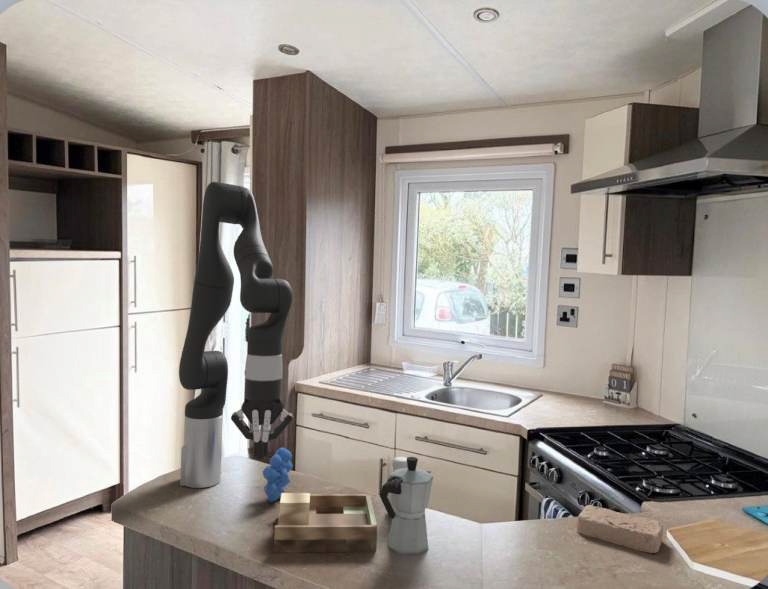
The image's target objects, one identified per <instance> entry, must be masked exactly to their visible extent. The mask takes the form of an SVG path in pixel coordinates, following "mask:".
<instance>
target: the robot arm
mask: <svg viewBox="0 0 768 589" xmlns="http://www.w3.org/2000/svg"><path fill="white" fill-rule="evenodd" d="M201 215H202V216H201V229H200V242H199V243H200V244H199V251H198V257H197V263H196V270H195V275H194V282H193V290H192V297H191V306H190V313H189V320H188V324H187V325H188V326H187V330H186V335H185V339H184V341H183V342H184V343H183V346H182V351H181V356H180V360H179V366H178V379H179V382H180V385H181V386H182V388H183V389H185V390H188V391H190V390H191V391H193V390H202V389H203V390H202V391H201V393H200V394H199V395H197V396H196V397H195V398H193V399H191V400H190V401H188V402H187V403H186V404H185V406H184V427H183V428H184V429H183V432H184V433H183V445H182V447H181V448H180V449H181V450H180V452H181V453H180V476H179V477H180V479H179V480H180V482H179V484H180V485H179V486H181V487H182V486H183V487H188V488H193V489H204V488H209V487H213V486H215V485H218V484H219V483H220V482H221V474H222V449H223V448H222V447H223V446H222V445H223V426H224V424H223V421H224V419H223V418H224V408H225V405H226V401H227V389H228V388H227V387H228V379H229V378H228V377H229V365H228V361H227V360H228V359H227V358H226V355H225V354H224V353H223V352H222V351H220V350H209V351H208V350H206V351H205V348H206V344H207V342H208V339H209V336H210V335H211V333H212V331H213V330H214V329H215V327H216V326H217V325H218V324H219V323H220V321H221V320H222V319H223V317H224V316H225V315H226V313H227V312H228V310H229V308H230V306H231V303H232V298H233V292H234V287H235V286H234V285H235V276H234V273H233V270H232V268H231V265H230V263H229V261H228V259H227V257H226V255H225V253H224V251H223V248H222V245H221V241H220V233H219V230H220V229H219V227H220V223H224V224H229V225H230V224H231V225H239V226H240V227H241V229H242V231H241V232H240V233H239V235H238V236H237V238H236V240H235V242H234V245H233V257H234V261H235V263H236V266H237V269H238V272H239V276H240V289H239V290H240V292H239V302H240V304H241V306H242V307H243V309H244V310H245V311H247V312H249V313H252V314H264V313H265V314H270V315H269V316H268V318H267V320H266V321H264V322H261V323H257V324H253V325H251V326H250V327H249V328H248V332H247V344H246V347H247V348H246V360H245V364H244V365H245V367H244V398H243V403H242V404H241V407H240V409H239V410H237V411H234V412H232V414H231V416H230V420H231V421H232V422H233V424H234V425H235V427H236V428H237V429H238V430H239V432H240V433H241V435H242V436H243V437H244V438H245V439H246V440H251V441H253V456H254V458H256V461H265V458H267V457H268V455H269V447H270V446H269V445H270V443H269V442H270V441H273V440H276V439H277V438H278V437H279V436H280V435H281V434H282V432H283V431H284V430H285V429H286V428H287V426H289V424H290V423H291V422H292V421H293V417H294V414H293V413H292V412H288V411H287V410H286V409H285V408H284V404H283V401H282V397H283V396H282V393H283V392H282V391H283V374H284V373H283V368H284V367H283V365H284V363H283V335H284V330H285V327H286V324H287V319H288V317H289V313H290V310H291V307H292V305H293V300H294V299H293V298H294V293H293V292H294V291H293V288H292V286H291V284H290V283H289V282H288V281H287V280H285V279H281V278H272V277H273V276H272V275H273V273H274V267H273V263H272V261H271V259H270V255H269V254H268V251H267V249H266V247H265V246H266V245H265V243H264V240H263V237H262V232H261V225H260V219H259V215H258V210H257V204H256V201H255V197H254V195H253V192H252V191H251V190H250V189H249V187H248V188H247V187H245V186H240V185H236V184H230V183H224V182H219V181H211V182H210V183H208V184H207V186H206V189H205V191H204V197H203V202H202V214H201ZM280 415H281V416H280ZM279 416H280V422H279V423H278V424H277V426H276V427H275V428H274V430H273V431H270V430H271V425H272V424H274V423H275V421H276V420H277V419H278V417H279ZM245 417H246V419H247V420H248V421H249V423H250V424H252V429H251V428H250V427H249V425H247V423H246V421H245V420H244V419H245ZM262 425H263V426H262ZM262 427H263V430H262V429H261V428H262ZM261 430H262V431H261Z"/></svg>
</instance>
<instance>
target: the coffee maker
mask: <svg viewBox="0 0 768 589" xmlns="http://www.w3.org/2000/svg"><path fill="white" fill-rule="evenodd" d="M406 458H407V466H408V468H403V469H396V470H395V471H394V470H393V471H392V472H390V474H389V477H388V478H387V480H386V482H385V483H384V484H383V485H382V487H381V490H380V492H379V495H378V496H379V498H380V500H381V502H382V504H383V506H384V509H385V510H386V513H387V515H388V517H389V518H390V519H391V520H392V521H391V525H390V530H389V535H388V538H387V539H388V543H387V544H388V549H390V550H392V551H394V552H396V553H398V554H399V555H408V556H410V555H411V556H419V555H420V554H423V553H424V552H425V553H426V551H429V544H428V542H429V541H428V533H427V531H428V530H427V521H426V519H427V518H426V509H427V508H428V506H429V502H430V501H429V500H430V496H431V490H432V484H433V480H434V476H433V475H432V473H433V471H432V470H431V471H430V470H424V469H419V468H417V466H418V460H419V458H417V457H415V456H407V457H406ZM389 493H392V504H393V506H394V507H395V510H393V508H392V506H391V504H390V502H389V500H388V494H389Z"/></svg>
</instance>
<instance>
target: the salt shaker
mask: <svg viewBox="0 0 768 589" xmlns="http://www.w3.org/2000/svg"><path fill="white" fill-rule="evenodd" d="M407 458H408V457H406V456H396V457H394V458H393V459H392V462H391V466H392V469H393V471H395V470H396V469H403V468H408V466H407ZM388 500H389V502H390V504H391V506H392V508H393V510H395V507H394V506H393V504H392V493H388Z"/></svg>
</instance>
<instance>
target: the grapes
mask: <svg viewBox="0 0 768 589" xmlns="http://www.w3.org/2000/svg"><path fill="white" fill-rule="evenodd" d="M292 459H293V455H292V452H291V451H290V450H289V449H286V448H285V447H284V446H283V447H279V448H278V449H277V450H276V451H275V454H274V455H273V456H271V457H270V459H269V465H268V466H266V467H265V468H264V469H263V470H262V476H263V478H264V479H265V481H266V482H267V483H266V484H265V485H264V486H263V491H264V494H265V496H267V500H268V501H269V502H270V503H274V502H276V501H277V500H280V495H281V494H282V493H286V491H285V487H287V486H288V485H289V484H290V482H291V479H290V476H289V474H288V473H290V472H291V470H292V469H293V468H294V467H293V463H292V461H291V460H292Z"/></svg>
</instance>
